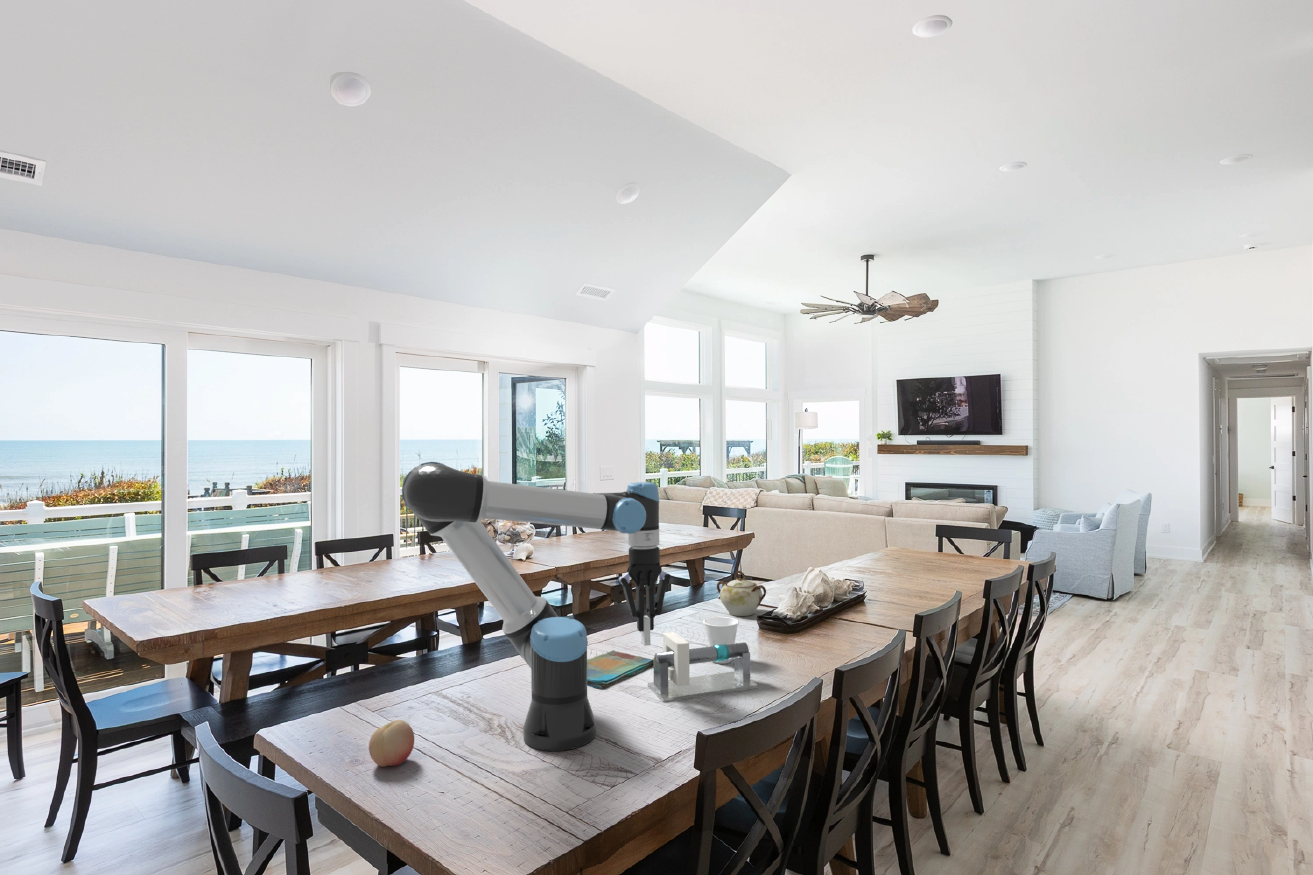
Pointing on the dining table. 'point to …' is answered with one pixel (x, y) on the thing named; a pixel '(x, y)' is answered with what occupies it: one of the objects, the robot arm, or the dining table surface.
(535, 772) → the dining table surface
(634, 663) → the dish towel
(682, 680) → the collar
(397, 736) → the fruit
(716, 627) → the cup
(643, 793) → the dining table surface
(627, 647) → the dining table surface
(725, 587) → the sugar bowl
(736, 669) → the pipe rig
